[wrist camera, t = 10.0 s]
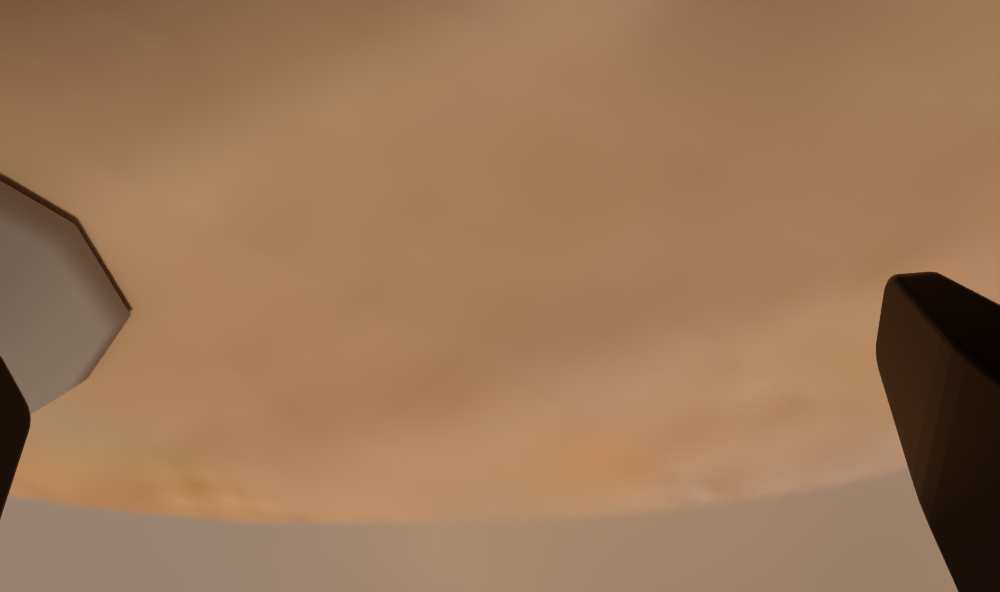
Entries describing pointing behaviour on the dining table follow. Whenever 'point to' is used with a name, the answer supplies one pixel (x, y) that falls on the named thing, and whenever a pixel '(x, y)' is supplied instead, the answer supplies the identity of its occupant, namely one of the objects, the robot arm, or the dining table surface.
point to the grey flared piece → (51, 301)
